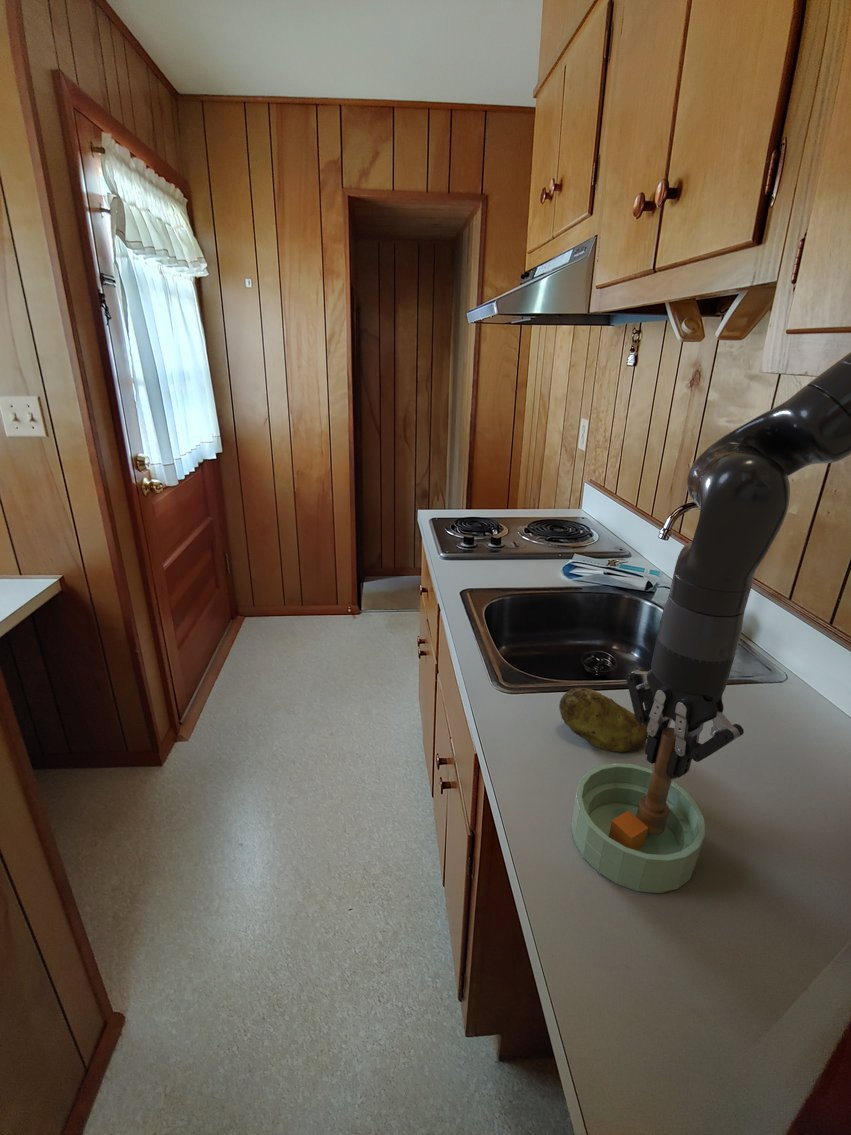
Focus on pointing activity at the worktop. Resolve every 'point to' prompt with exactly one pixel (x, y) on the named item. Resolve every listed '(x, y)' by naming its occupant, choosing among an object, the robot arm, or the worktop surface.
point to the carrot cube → (628, 831)
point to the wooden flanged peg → (658, 787)
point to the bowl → (662, 855)
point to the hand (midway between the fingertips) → (664, 766)
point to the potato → (601, 721)
